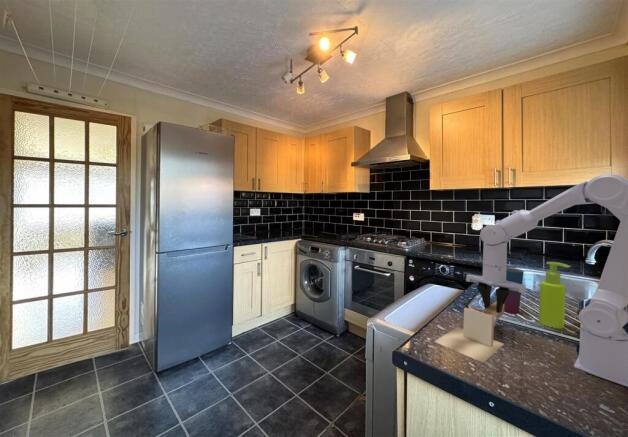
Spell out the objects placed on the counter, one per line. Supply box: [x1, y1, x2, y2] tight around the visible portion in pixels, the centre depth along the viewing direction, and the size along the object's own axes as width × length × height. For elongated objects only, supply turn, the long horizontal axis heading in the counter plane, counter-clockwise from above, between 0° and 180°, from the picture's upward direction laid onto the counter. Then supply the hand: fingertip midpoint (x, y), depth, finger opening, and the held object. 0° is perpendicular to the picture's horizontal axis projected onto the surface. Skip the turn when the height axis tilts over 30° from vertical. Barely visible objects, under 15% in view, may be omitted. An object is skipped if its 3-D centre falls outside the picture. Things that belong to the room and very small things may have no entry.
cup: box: [504, 267, 525, 315], centre depth 92 cm, size 7×7×15 cm
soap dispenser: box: [538, 261, 572, 330], centre depth 80 cm, size 6×7×20 cm
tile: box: [462, 307, 495, 347], centre depth 70 cm, size 7×1×8 cm, turn 37°
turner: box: [483, 301, 505, 327], centre depth 76 cm, size 4×14×3 cm, turn 127°
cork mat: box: [433, 326, 505, 364], centre depth 69 cm, size 12×14×1 cm
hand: (493, 310), depth 76 cm, fingers closed on turner, 2 cm apart
